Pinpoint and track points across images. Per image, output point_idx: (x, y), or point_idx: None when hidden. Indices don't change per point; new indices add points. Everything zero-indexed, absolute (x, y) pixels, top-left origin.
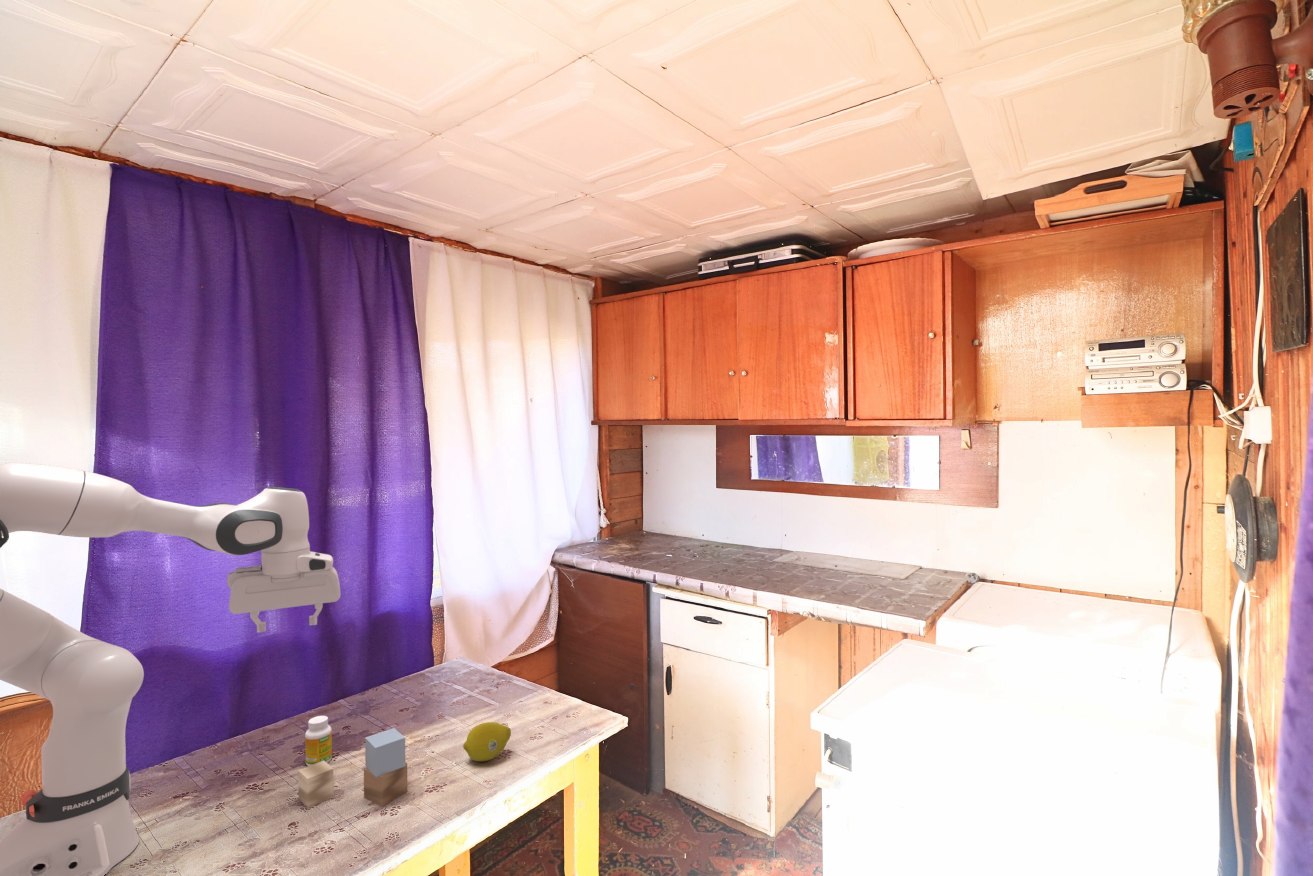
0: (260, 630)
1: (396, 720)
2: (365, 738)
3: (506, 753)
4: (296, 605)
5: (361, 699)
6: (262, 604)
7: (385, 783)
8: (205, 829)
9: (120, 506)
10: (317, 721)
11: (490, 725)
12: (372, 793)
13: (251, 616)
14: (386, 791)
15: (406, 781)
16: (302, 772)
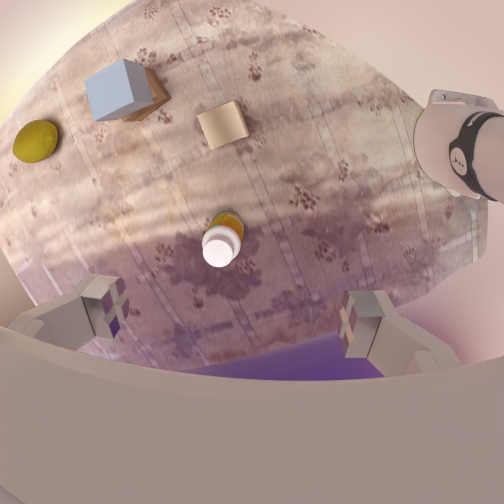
0: (370, 293)
1: (140, 289)
2: (134, 99)
3: None
4: (111, 364)
5: (188, 361)
6: (428, 418)
7: None
8: (354, 123)
9: None
10: (218, 246)
11: (18, 140)
12: (158, 83)
13: (448, 350)
14: None
15: None
16: (240, 125)
